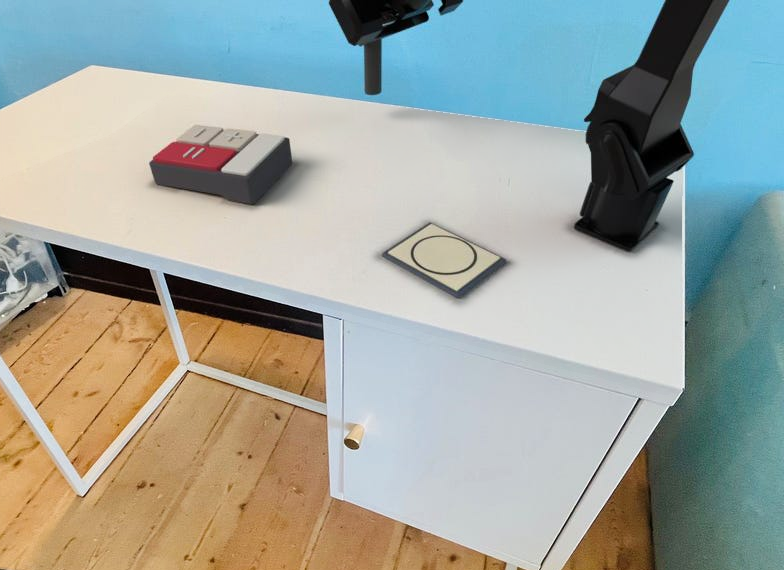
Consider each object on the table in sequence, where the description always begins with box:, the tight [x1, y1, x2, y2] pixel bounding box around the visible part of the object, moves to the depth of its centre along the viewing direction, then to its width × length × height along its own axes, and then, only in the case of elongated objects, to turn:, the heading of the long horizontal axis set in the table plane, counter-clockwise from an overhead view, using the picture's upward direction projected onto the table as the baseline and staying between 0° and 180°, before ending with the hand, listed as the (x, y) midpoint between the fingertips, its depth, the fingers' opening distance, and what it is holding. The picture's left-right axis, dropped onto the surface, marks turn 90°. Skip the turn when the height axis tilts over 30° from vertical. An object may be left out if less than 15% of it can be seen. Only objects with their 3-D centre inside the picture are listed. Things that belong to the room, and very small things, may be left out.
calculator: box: [148, 124, 293, 205], centre depth 73 cm, size 11×4×15 cm
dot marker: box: [363, 38, 383, 96], centre depth 78 cm, size 2×2×10 cm
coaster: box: [381, 221, 507, 299], centre depth 60 cm, size 10×8×1 cm
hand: (366, 40), depth 78 cm, fingers closed on dot marker, 2 cm apart
